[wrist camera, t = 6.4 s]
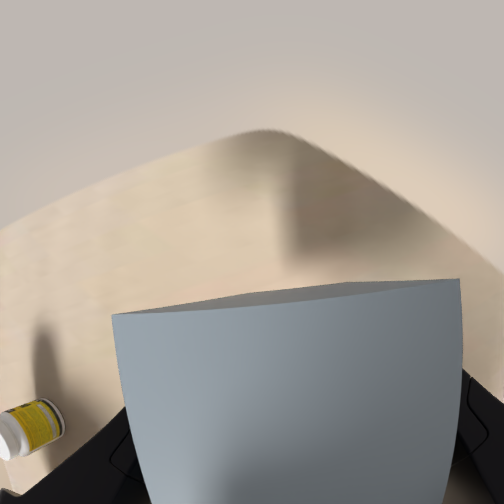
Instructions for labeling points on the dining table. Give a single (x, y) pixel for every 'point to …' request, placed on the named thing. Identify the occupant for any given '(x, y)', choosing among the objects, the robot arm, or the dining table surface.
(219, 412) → the slate block
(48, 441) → the supplement bottle
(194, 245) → the dining table surface
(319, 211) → the dining table surface
